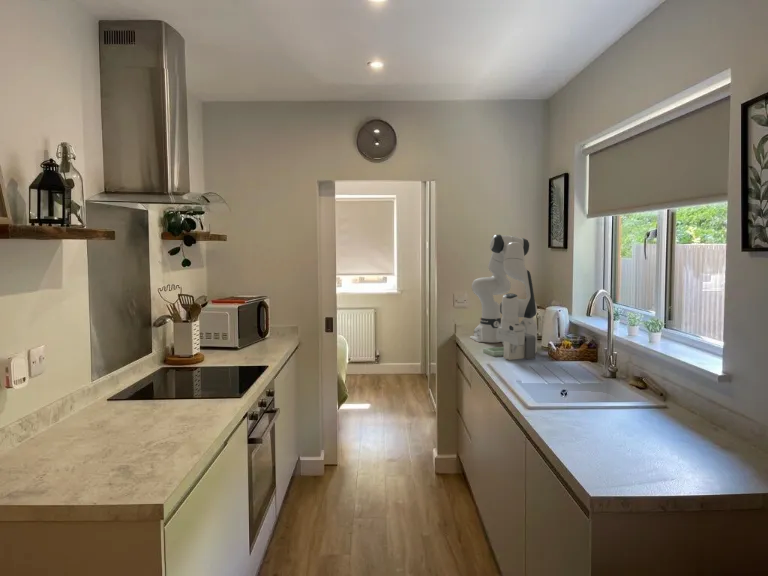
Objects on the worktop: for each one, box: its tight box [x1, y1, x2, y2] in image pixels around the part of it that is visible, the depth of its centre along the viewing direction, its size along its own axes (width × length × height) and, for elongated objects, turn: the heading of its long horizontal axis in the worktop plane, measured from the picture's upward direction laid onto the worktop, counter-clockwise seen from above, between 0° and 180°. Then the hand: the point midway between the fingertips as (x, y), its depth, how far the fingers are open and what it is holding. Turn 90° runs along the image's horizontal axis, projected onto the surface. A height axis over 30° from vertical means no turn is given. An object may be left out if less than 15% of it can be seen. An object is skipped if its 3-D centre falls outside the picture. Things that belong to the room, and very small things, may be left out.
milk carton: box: [520, 317, 538, 354], centre depth 301 cm, size 7×7×19 cm
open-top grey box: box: [524, 333, 536, 360], centre depth 288 cm, size 10×6×12 cm, turn 21°
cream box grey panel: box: [503, 341, 526, 361], centre depth 286 cm, size 5×10×10 cm, turn 112°
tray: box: [482, 346, 504, 357], centre depth 299 cm, size 11×16×2 cm
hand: (509, 351), depth 285 cm, fingers closed on cream box grey panel, 5 cm apart
